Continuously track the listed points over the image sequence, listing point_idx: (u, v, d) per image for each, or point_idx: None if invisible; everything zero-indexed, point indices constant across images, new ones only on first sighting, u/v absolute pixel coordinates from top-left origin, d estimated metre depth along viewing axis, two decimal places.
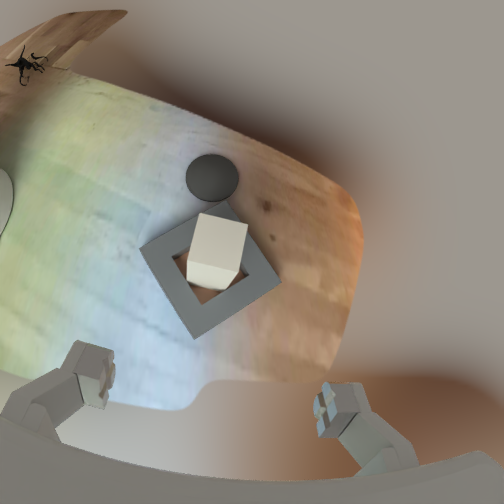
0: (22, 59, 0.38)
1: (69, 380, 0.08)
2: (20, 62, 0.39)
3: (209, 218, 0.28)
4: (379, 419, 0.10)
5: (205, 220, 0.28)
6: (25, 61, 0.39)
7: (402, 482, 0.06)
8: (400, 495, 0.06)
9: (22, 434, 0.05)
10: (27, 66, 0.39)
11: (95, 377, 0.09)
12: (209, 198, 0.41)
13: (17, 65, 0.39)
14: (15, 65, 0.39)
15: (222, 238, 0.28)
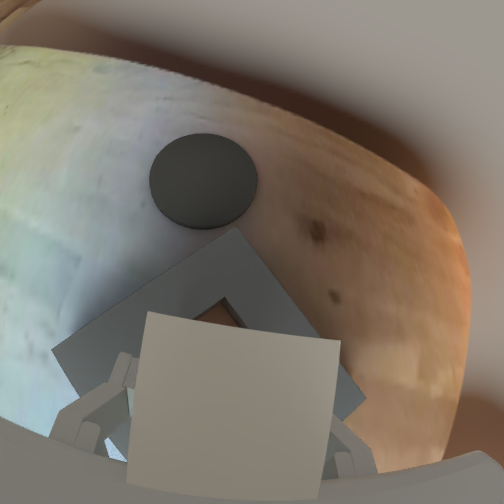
0: None
1: (119, 394, 0.09)
2: None
3: (189, 334, 0.07)
4: (336, 420, 0.09)
5: (174, 344, 0.07)
6: None
7: (402, 482, 0.06)
8: (400, 495, 0.06)
9: (22, 434, 0.05)
10: None
11: None
12: (199, 222, 0.19)
13: None
14: None
15: (250, 412, 0.06)
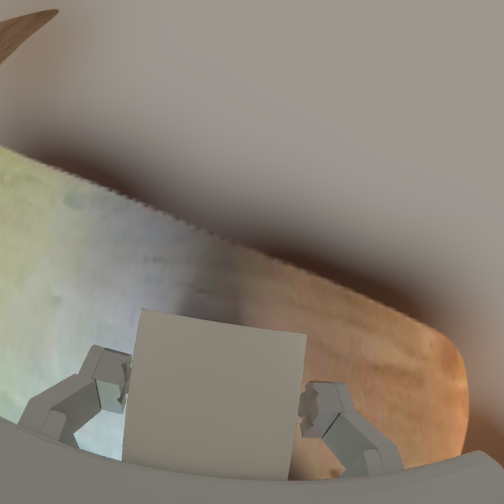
0: None
1: (88, 386, 0.08)
2: None
3: (176, 327, 0.08)
4: (363, 420, 0.09)
5: (163, 335, 0.08)
6: None
7: (402, 482, 0.06)
8: (400, 495, 0.06)
9: (22, 434, 0.05)
10: None
11: (115, 382, 0.09)
12: None
13: None
14: None
15: (227, 394, 0.08)
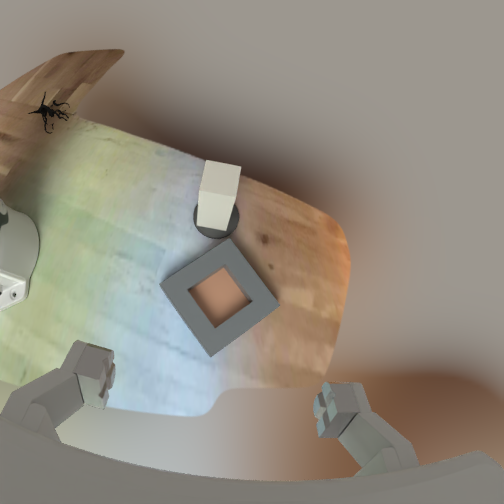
0: (45, 107, 0.46)
1: (69, 380, 0.08)
2: (42, 109, 0.47)
3: (213, 163, 0.39)
4: (379, 419, 0.10)
5: (210, 164, 0.39)
6: (48, 109, 0.47)
7: (402, 482, 0.06)
8: (400, 495, 0.06)
9: (22, 434, 0.05)
10: (50, 114, 0.48)
11: (95, 377, 0.09)
12: (215, 236, 0.48)
13: (39, 112, 0.48)
14: (37, 112, 0.47)
15: (223, 175, 0.39)
